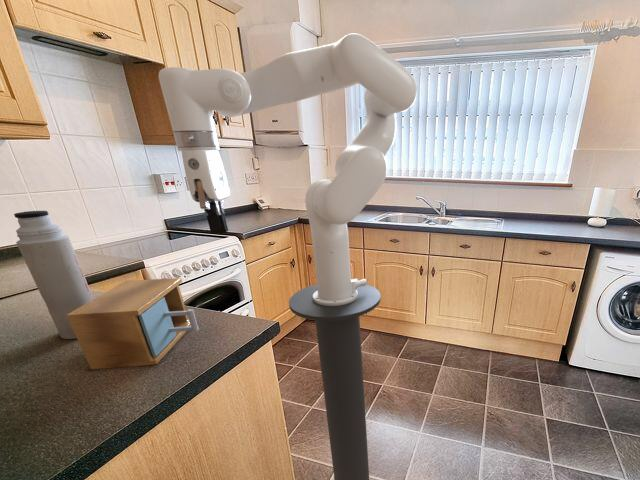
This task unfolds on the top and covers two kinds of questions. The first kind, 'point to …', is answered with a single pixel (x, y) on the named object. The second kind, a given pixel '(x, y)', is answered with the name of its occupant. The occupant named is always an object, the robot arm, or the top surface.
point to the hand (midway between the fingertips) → (219, 232)
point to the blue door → (163, 325)
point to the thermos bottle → (53, 267)
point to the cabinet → (125, 323)
